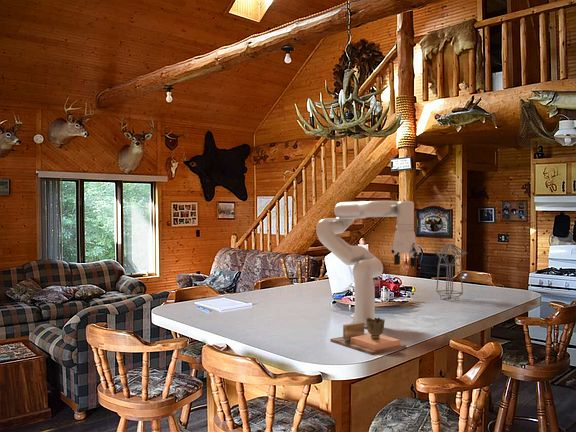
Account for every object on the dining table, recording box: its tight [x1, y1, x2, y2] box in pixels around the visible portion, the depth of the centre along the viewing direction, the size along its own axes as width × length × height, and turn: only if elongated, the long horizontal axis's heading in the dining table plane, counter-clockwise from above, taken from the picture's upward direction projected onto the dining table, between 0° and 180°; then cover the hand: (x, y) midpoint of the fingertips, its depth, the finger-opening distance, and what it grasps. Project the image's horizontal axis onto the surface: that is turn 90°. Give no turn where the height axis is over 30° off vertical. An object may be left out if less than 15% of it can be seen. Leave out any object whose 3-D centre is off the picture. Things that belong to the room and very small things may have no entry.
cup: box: [366, 317, 386, 339], centre depth 212 cm, size 8×7×8 cm
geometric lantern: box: [433, 243, 468, 300], centre depth 324 cm, size 16×16×35 cm
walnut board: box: [329, 322, 407, 356], centre depth 215 cm, size 25×19×7 cm
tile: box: [351, 333, 401, 350], centre depth 212 cm, size 14×14×2 cm
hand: (404, 265), depth 238 cm, fingers open, 9 cm apart
